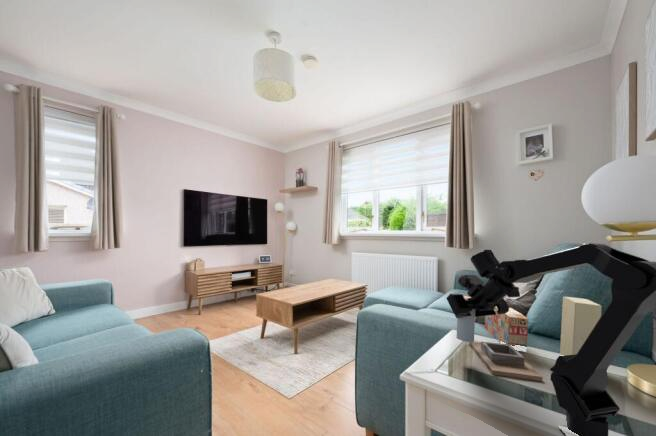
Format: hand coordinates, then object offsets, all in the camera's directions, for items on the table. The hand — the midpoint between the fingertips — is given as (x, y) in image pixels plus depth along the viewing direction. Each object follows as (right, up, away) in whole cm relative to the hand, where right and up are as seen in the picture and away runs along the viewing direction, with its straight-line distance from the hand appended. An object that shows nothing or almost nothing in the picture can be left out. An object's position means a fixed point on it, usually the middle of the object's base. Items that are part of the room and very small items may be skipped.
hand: (462, 316), depth 88 cm
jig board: (+12, -14, -1) cm, 18 cm away
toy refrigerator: (+36, -15, -2) cm, 39 cm away
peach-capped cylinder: (0, -7, -1) cm, 7 cm away
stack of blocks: (+24, -15, +17) cm, 34 cm away
